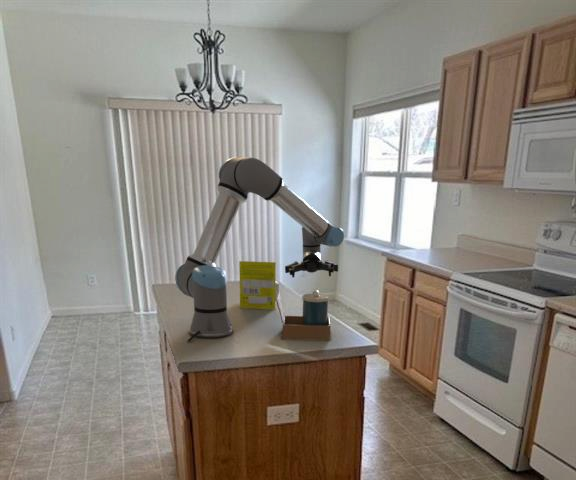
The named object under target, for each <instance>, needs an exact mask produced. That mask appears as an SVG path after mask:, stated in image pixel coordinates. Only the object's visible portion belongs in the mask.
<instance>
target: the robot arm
mask: <svg viewBox="0 0 576 480" xmlns="http://www.w3.org/2000/svg"><path fill="white" fill-rule="evenodd" d="M218 179H219V180H218V181H219V182H218V184H217V186H216V188H217V191H218V196H217V197H216V200H215V203H214V205H213V207H212V209H211V211H210V214H209V216H208V219H207V221H206V224H205V226H204V229H203V231H202V233H201V235H200V237H199V240H198V243H197V244H196V247H195V249H194V252H192V253H191V254H189V255H187V257H186V260H185V262H184V263H182V264H181V265H180V266H178V268H177V269H176V272H175V275H174V281H175V285H176V287H177V288H178V290H179V291H180V292H181V293H182V294H184V295H185V296H188V297H190V298H192V299H193V307H194V312H193V317H192V322H191V324H190V326H189V327H190V328H189V330H190V331H189V332H190V334H191V336H190V337H189V338H188V339H187V342H191V341H192V340H193V339H195V338H196V337H197V338H202V339H217V338H218V339H219V338H224V337H228V336H231V334H233V325H232V324H231V320H230V317H229V313H228V308H227V304H228V301H227V281H228V279H227V274H226V271H225V270H224V269H223V268H221V267H219V266H216V262H217V260H218V257H219V254H220V252H221V250H222V248H223V245H224V243H225V241H226V239H227V236H228V234H229V232H230V230H231V227H232V224H233V222H234V220H235V217H236V216H237V213H238V211H239V208H240V207H241V205H242V204H244V203H246V202H247V200H248V198H249V196H250V194H254V195H257V196H259V197H260V198H262V199H263V200H264V201H265V202H269V201H270V202H271V203H273V204H274V205H275V206H276V207H278V208H279V209H281V211H283V212H284V214H286V215H288V216H289V217H290V218H291V219H293V220H294V221H295V222H297V224H299V225H300V226H301V234H302V235H301V236H302V261H300V262H298V261H297V260H296V261H293V262H291V263H290V264H287V265H285V266H284V272H285V274H289V275H290V276H291V278H292V279H293V278H295V276H296V275H295V274H296V273H297V272H301V271H302V272H307V273H312V274H314V273H316V272H317V271H325V272H328V277H332V274H333V273H334V272H336V273H337V272H339V264H338V263H335V262H332V261H330V260H328V259H327V260H325V261H324V262H323V261H322V250H321V247H322V246H321V245H323V246H327V247H334V248H336V247H339V246H341V245H342V243H343V242H344V239H345V234H344V233H345V232H344V229H342V228H341V227H338V226H335V225H332V224H331V223H330V222H329V221H328V220H326V219H325V218H324V217H323V216H322V215H321V214H320V213H318V212H317V211H316V209H313V207H311V206H310V205H309V204H308V203H307V202H306V201H305V200H304V199H302V198H301V197H300V196H299V195H298V194H296V193H295V191H293V190H292V189H291V188H290V187H288V185H286V184H285V183H284V178H282V176H280V175H279V174H278V173H277V172H276V171H274V169H273V168H271V167H270V166H269V165H267V163H265V162H263V161H262V160H261V159H259V158H256V157H241V156H240V157H239V156H238V157H237V156H235V157H231V158H229V159H226V160H225V161H224V162H223V163H222V164H221V166H220V167H219V171H218Z"/></svg>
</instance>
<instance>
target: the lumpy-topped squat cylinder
mask: <svg viewBox="0 0 576 480" xmlns="http://www.w3.org/2000/svg"><path fill="white" fill-rule="evenodd" d="M278 293H279V294H280V283H279V282H278V281H277V280H275V301H276V300H277V296H278Z"/></svg>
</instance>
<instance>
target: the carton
mask: <svg viewBox="0 0 576 480" xmlns="http://www.w3.org/2000/svg"><path fill="white" fill-rule="evenodd" d="M302 319H303V315H284V321H283V323H282V339H283V340H284V339H285V340H317V341H318V340H320V341H321V340H322V341H330V340H331V321H330V316H327V326H316V325H302Z"/></svg>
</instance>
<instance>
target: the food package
mask: <svg viewBox="0 0 576 480" xmlns="http://www.w3.org/2000/svg"><path fill="white" fill-rule="evenodd" d="M276 264H277V263H276V262H275V261H274V262H273V261H248V260H247V261H246V260H239V262H238V265H239V268H238V269H239V270H238V271H239V308H240V309H257V310H261V309H262V310H276V300H275V281H276V269H277V268H276V267H277V266H276Z"/></svg>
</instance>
